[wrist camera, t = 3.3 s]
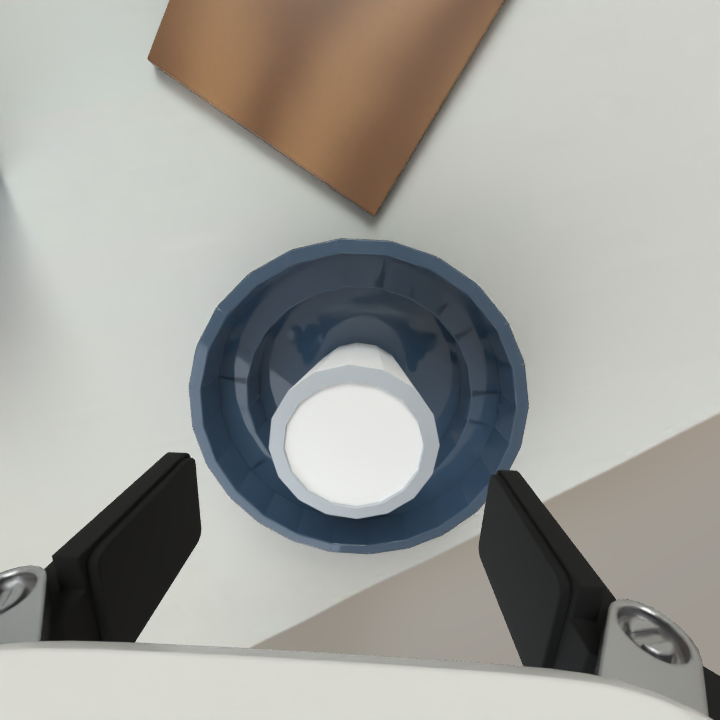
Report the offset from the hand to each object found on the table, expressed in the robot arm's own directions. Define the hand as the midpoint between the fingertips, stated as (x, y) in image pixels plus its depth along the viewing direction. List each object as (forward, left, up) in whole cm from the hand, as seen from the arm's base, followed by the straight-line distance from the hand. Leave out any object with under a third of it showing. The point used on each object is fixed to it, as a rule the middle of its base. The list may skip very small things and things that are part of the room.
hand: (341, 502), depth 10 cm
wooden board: (+11, -15, -10) cm, 21 cm away
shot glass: (0, 0, -10) cm, 10 cm away
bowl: (0, 0, -10) cm, 10 cm away
